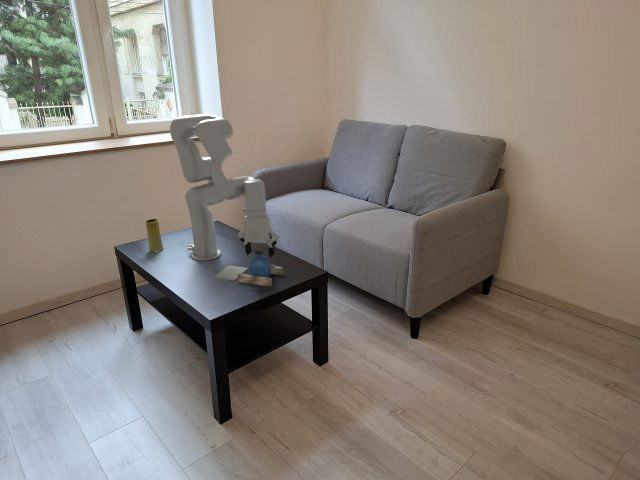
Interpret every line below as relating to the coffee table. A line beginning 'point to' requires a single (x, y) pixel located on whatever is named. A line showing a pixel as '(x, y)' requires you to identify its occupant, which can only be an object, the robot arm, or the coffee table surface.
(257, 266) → the perfume bottle
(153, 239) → the vase
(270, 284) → the cradle
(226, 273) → the mat
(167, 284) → the coffee table surface
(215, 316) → the coffee table surface
